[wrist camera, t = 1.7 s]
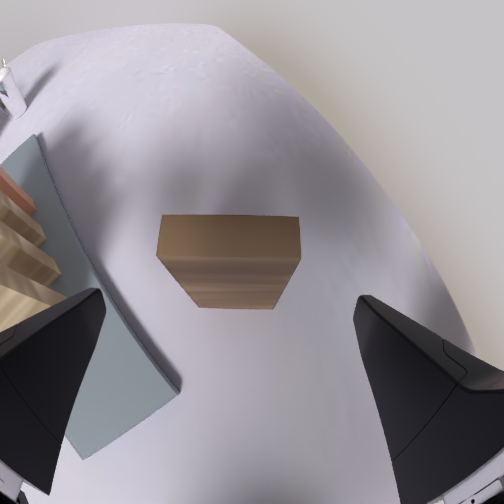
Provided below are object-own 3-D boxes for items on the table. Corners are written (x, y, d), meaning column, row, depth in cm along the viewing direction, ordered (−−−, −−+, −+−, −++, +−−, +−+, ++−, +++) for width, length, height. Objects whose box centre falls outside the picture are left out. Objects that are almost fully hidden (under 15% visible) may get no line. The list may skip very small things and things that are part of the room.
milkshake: (36, 96, 29) (12, 52, 20) (24, 117, 27) (-4, 71, 18) (17, 105, 29) (-7, 65, 19) (5, 127, 27) (-24, 85, 17)
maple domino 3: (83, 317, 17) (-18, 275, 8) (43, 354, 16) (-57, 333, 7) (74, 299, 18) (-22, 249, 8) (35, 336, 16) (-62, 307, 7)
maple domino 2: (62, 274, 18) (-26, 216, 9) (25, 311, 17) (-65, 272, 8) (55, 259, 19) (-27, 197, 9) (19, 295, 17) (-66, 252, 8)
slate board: (180, 392, 17) (176, 394, 16) (88, 456, 14) (82, 460, 13) (37, 138, 25) (34, 133, 24) (-15, 189, 22) (-20, 185, 22)
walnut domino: (273, 309, 19) (301, 258, 10) (198, 307, 19) (156, 255, 10) (272, 286, 20) (298, 216, 10) (200, 284, 19) (162, 214, 10)
